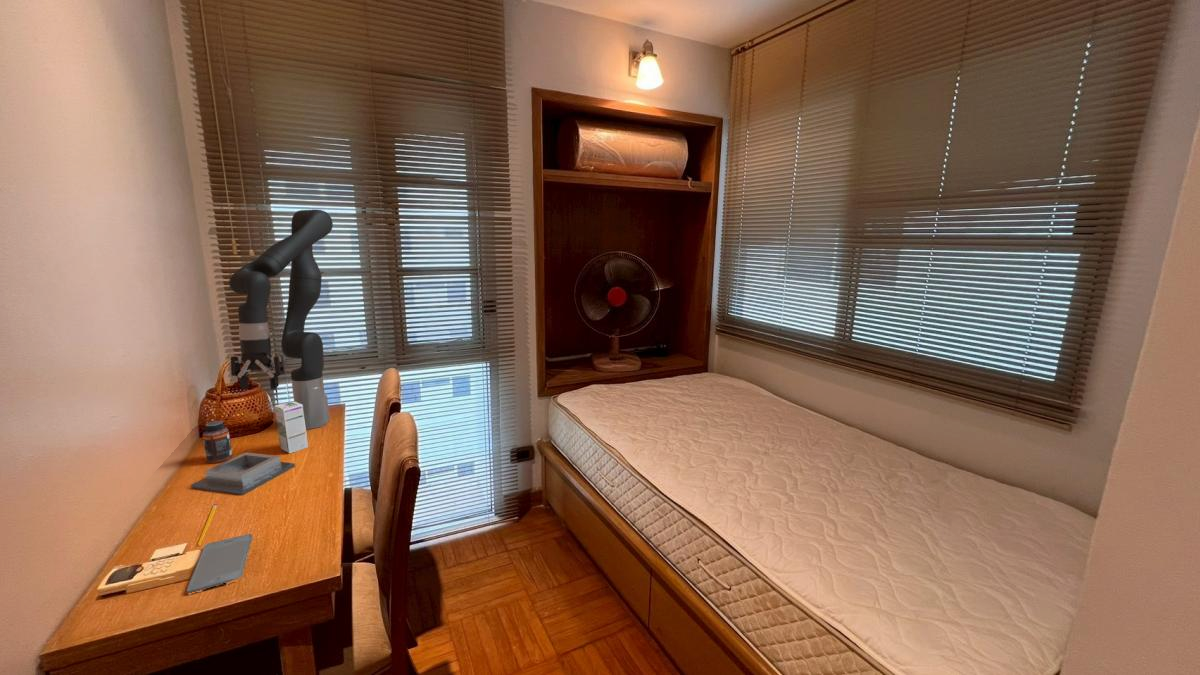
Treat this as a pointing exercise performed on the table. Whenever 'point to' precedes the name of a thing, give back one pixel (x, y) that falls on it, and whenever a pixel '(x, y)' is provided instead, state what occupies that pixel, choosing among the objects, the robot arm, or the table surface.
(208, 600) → the table surface
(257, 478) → the socket
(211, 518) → the pencil
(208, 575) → the phone
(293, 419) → the syrup box
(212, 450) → the supplement bottle
